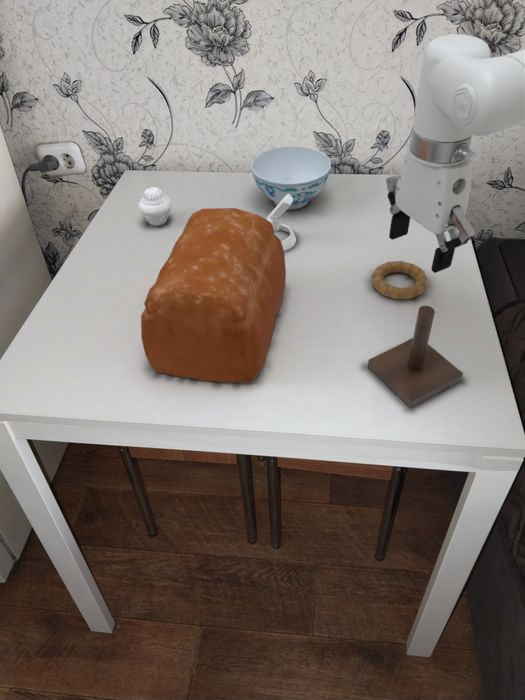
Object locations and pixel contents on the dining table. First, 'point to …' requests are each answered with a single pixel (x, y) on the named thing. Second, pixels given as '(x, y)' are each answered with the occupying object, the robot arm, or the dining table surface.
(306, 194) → the chinaware
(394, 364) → the stand
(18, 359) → the dining table surface
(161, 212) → the muffin
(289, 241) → the hook
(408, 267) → the ring
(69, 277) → the dining table surface
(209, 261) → the bread
